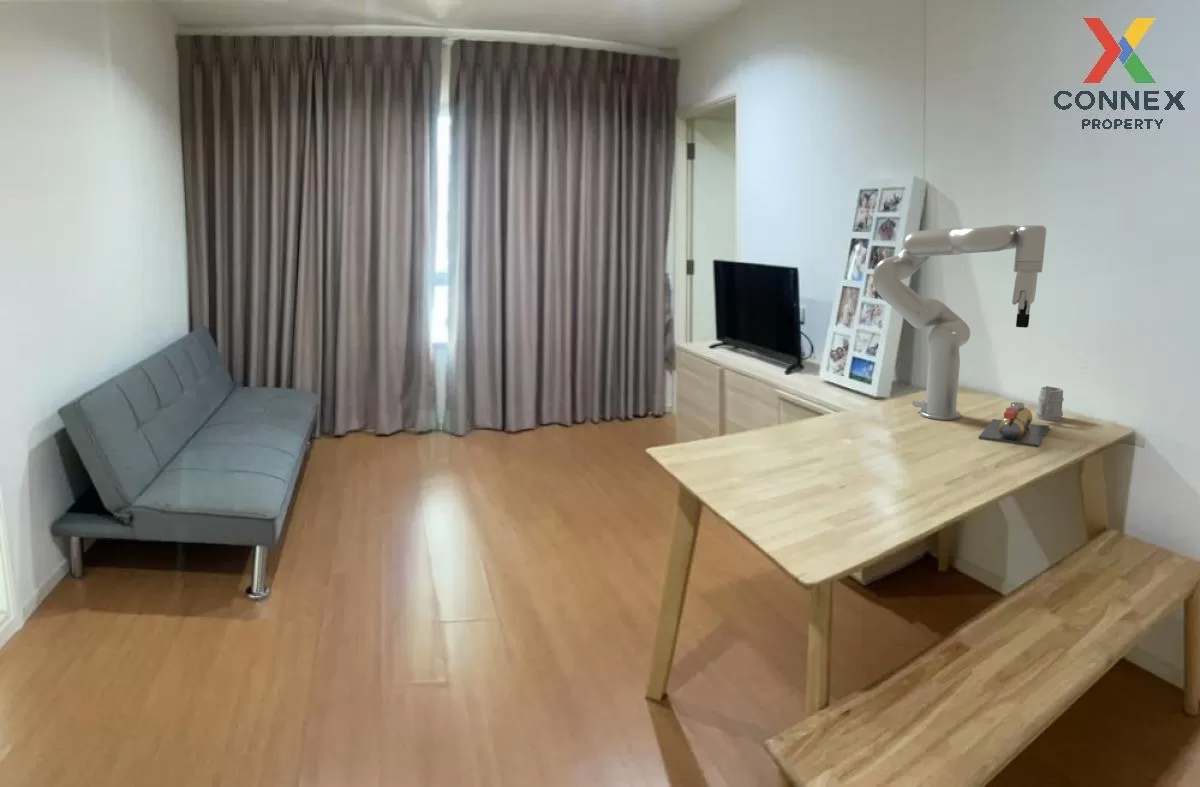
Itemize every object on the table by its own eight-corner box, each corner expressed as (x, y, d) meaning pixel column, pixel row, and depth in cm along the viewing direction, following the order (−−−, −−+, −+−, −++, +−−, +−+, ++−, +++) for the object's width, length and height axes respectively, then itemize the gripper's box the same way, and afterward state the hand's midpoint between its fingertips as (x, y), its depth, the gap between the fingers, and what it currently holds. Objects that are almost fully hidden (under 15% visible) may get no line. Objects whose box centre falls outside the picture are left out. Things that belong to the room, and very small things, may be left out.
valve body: (978, 438, 226) (980, 414, 224) (992, 421, 242) (995, 398, 241) (1038, 447, 216) (1041, 422, 214) (1049, 428, 233) (1052, 405, 231)
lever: (1011, 406, 230) (1012, 401, 229) (1024, 408, 228) (1025, 403, 227) (1000, 417, 219) (1001, 412, 218) (1014, 419, 217) (1015, 414, 216)
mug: (1064, 417, 244) (1069, 381, 241) (1055, 425, 236) (1059, 388, 233) (1038, 413, 249) (1042, 378, 246) (1028, 421, 241) (1032, 385, 238)
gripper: (1018, 264, 232) (1012, 322, 237) (1009, 268, 221) (1004, 329, 225) (1045, 265, 228) (1039, 324, 232) (1038, 269, 216) (1032, 331, 221)
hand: (1022, 326), depth 229 cm, fingers closed
